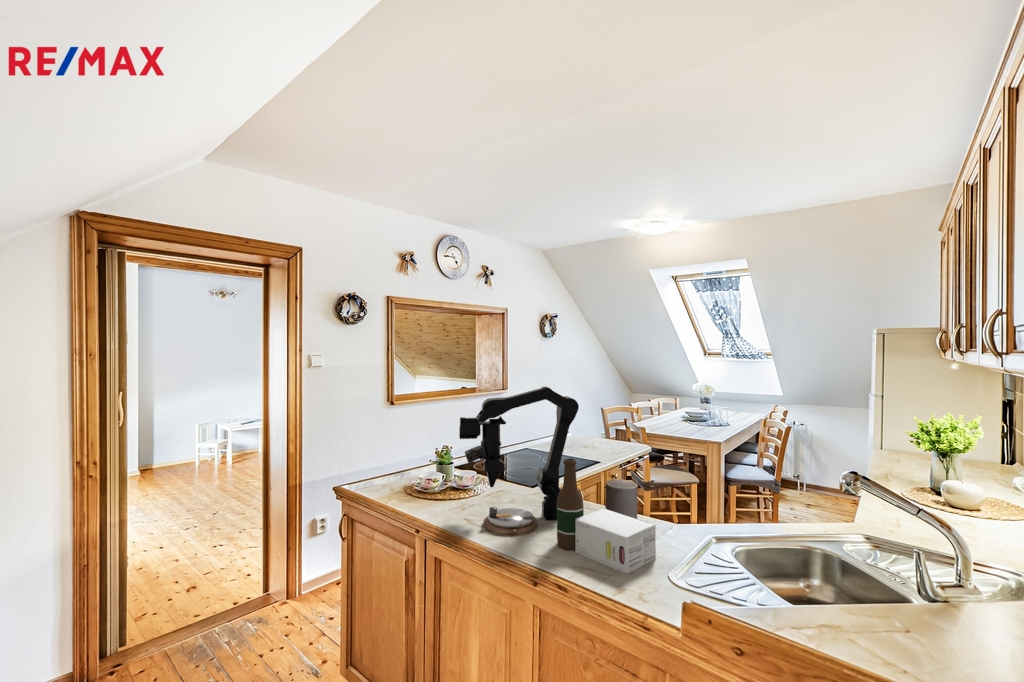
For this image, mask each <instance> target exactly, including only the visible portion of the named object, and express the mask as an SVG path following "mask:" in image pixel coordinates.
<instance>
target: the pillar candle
mask: <svg viewBox="0 0 1024 682" xmlns="http://www.w3.org/2000/svg"><path fill="white" fill-rule="evenodd" d="M638 486H639V485H638V483H636V482H634V481H632V480H627V479H622V478H620V479H617V478H616V479H615V478H614V479H609V480H607V481H606V482H605V493H604V495H605V501H604V502H605V509H607V510H610V511H613V512H616V513H619V514H623V515H626V516H629V517H632V518H635V519H638Z"/></svg>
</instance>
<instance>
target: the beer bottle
mask: <svg viewBox="0 0 1024 682" xmlns="http://www.w3.org/2000/svg"><path fill="white" fill-rule="evenodd" d="M563 464H564V466H563V484H562V488H560V489H561V491H560V492H559V495H558V497H557V520H556V540H557V543H556V544H557V547H558V549H561V550H563V549H564V550H563V551H567V552H569V551H572V552H573V551H574V552H575V536H576V520H575V519H577V518H579V517H582V516H585V515H584V512H585V511H584V510H585V509H584V500H583V497H582V495H581V492H580V490H579V488H578V483H577V471H576V470H577V468H576V467H577V466H576V465H577V461H576V459H574V458H570V457H569V458H564V460H563Z"/></svg>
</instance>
